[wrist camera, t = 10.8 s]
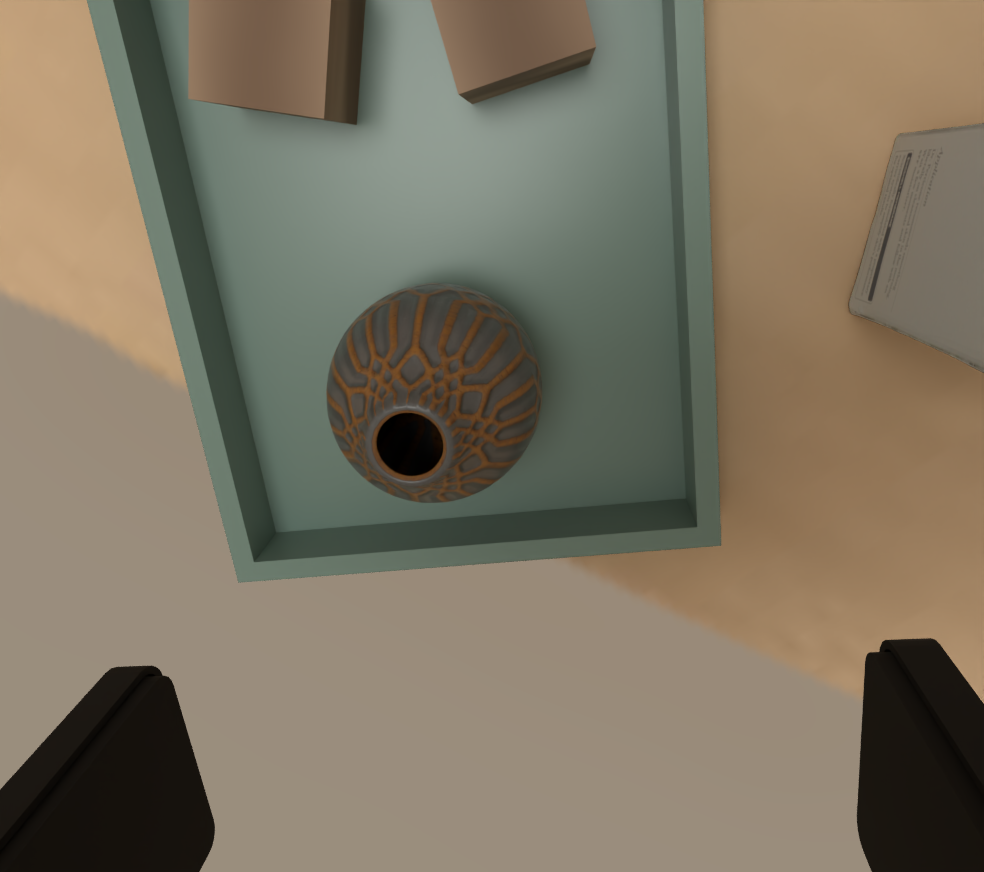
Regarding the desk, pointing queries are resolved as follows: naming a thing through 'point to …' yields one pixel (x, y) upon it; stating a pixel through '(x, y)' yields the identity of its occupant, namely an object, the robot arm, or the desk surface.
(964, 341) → the skincare box
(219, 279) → the tray
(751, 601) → the desk surface
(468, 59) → the walnut cube
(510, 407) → the vase
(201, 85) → the walnut cube
